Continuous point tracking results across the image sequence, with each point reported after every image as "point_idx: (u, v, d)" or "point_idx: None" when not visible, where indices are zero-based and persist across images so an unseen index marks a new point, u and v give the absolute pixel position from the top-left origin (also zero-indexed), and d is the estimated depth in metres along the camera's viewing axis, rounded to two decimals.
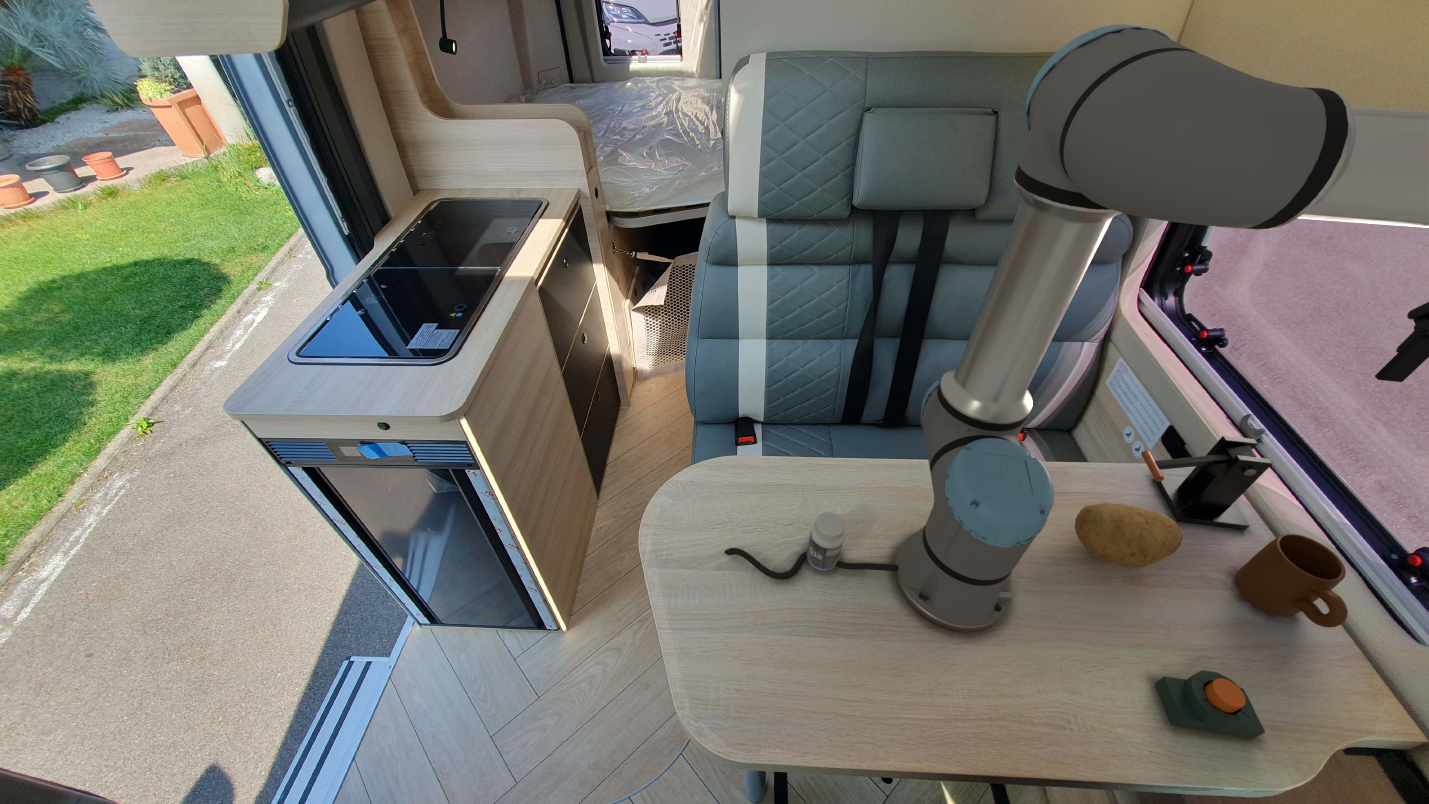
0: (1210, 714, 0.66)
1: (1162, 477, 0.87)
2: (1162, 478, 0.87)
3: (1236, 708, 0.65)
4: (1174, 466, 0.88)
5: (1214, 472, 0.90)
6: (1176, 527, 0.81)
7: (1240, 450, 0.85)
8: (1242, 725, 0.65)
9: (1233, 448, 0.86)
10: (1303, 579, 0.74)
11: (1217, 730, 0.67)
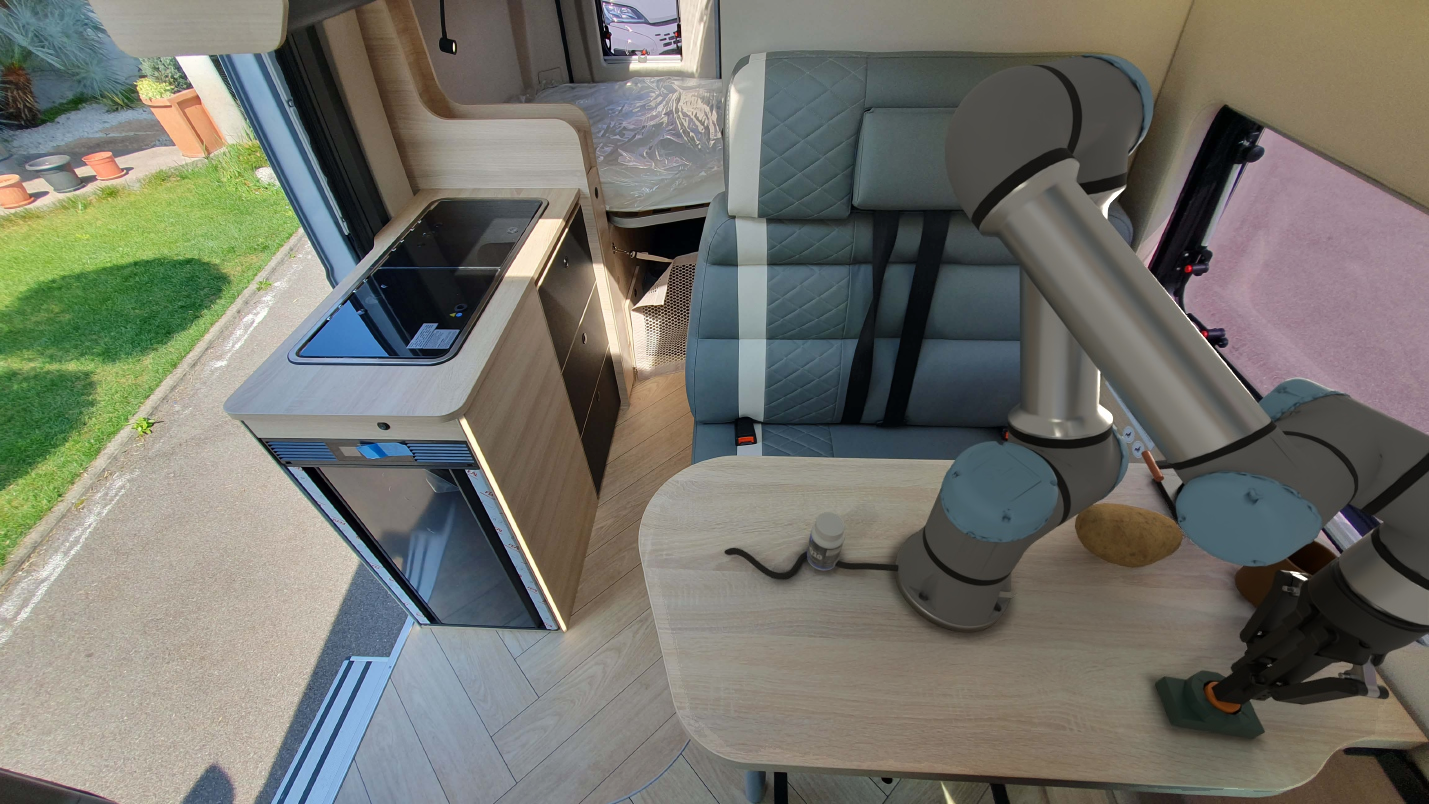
0: (1210, 714, 0.66)
1: (1162, 477, 0.87)
2: (1162, 478, 0.87)
3: (1231, 711, 0.66)
4: None
5: None
6: (1176, 527, 0.81)
7: None
8: (1242, 725, 0.65)
9: None
10: None
11: (1217, 730, 0.67)
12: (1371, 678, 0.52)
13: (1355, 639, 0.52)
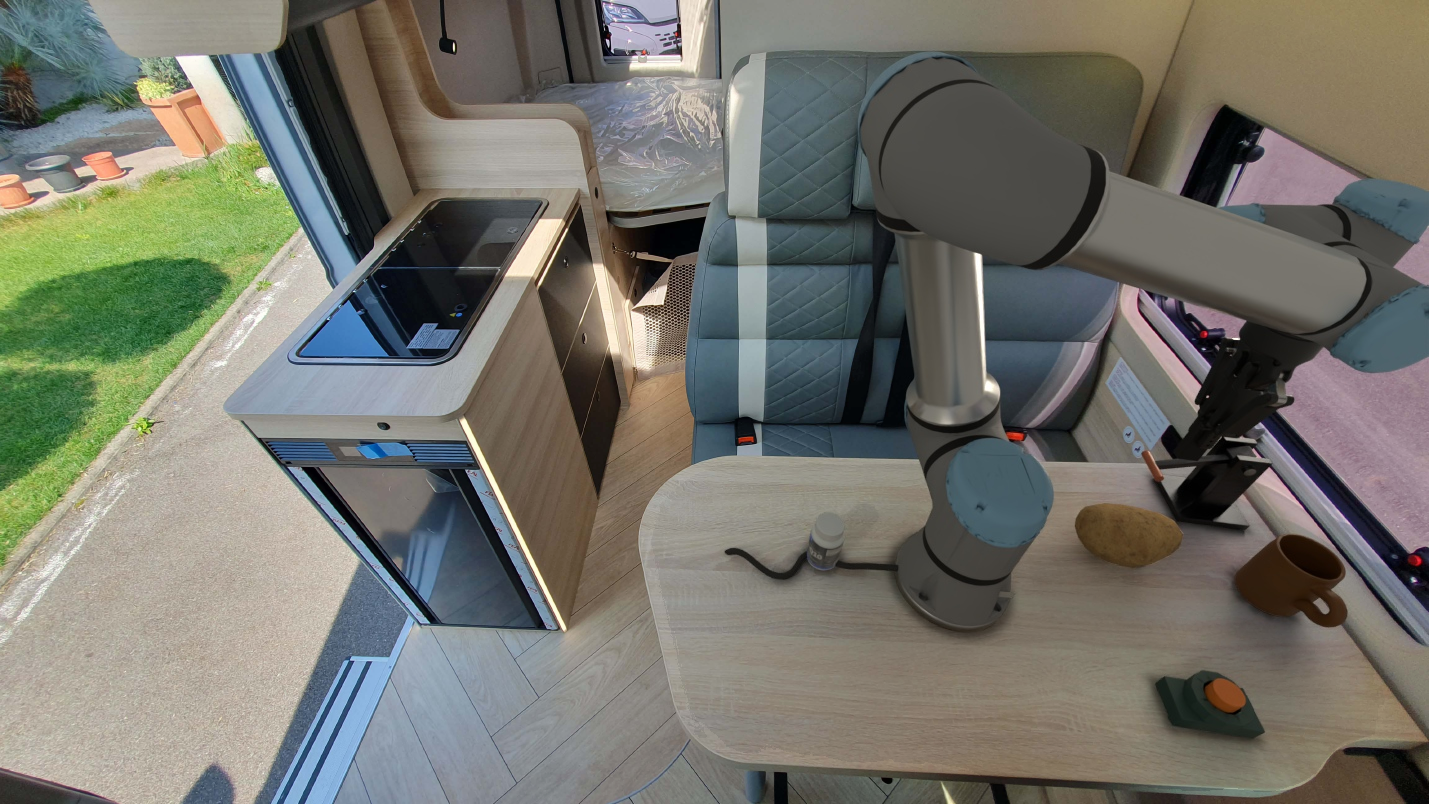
0: (1210, 714, 0.66)
1: (1162, 477, 0.87)
2: (1162, 478, 0.87)
3: (1236, 708, 0.65)
4: (1174, 466, 0.88)
5: (1214, 472, 0.90)
6: (1176, 527, 0.81)
7: (1240, 450, 0.85)
8: (1242, 725, 0.65)
9: (1233, 448, 0.86)
10: (1303, 579, 0.74)
11: (1217, 730, 0.67)
12: (1282, 389, 0.68)
13: (1271, 362, 0.69)
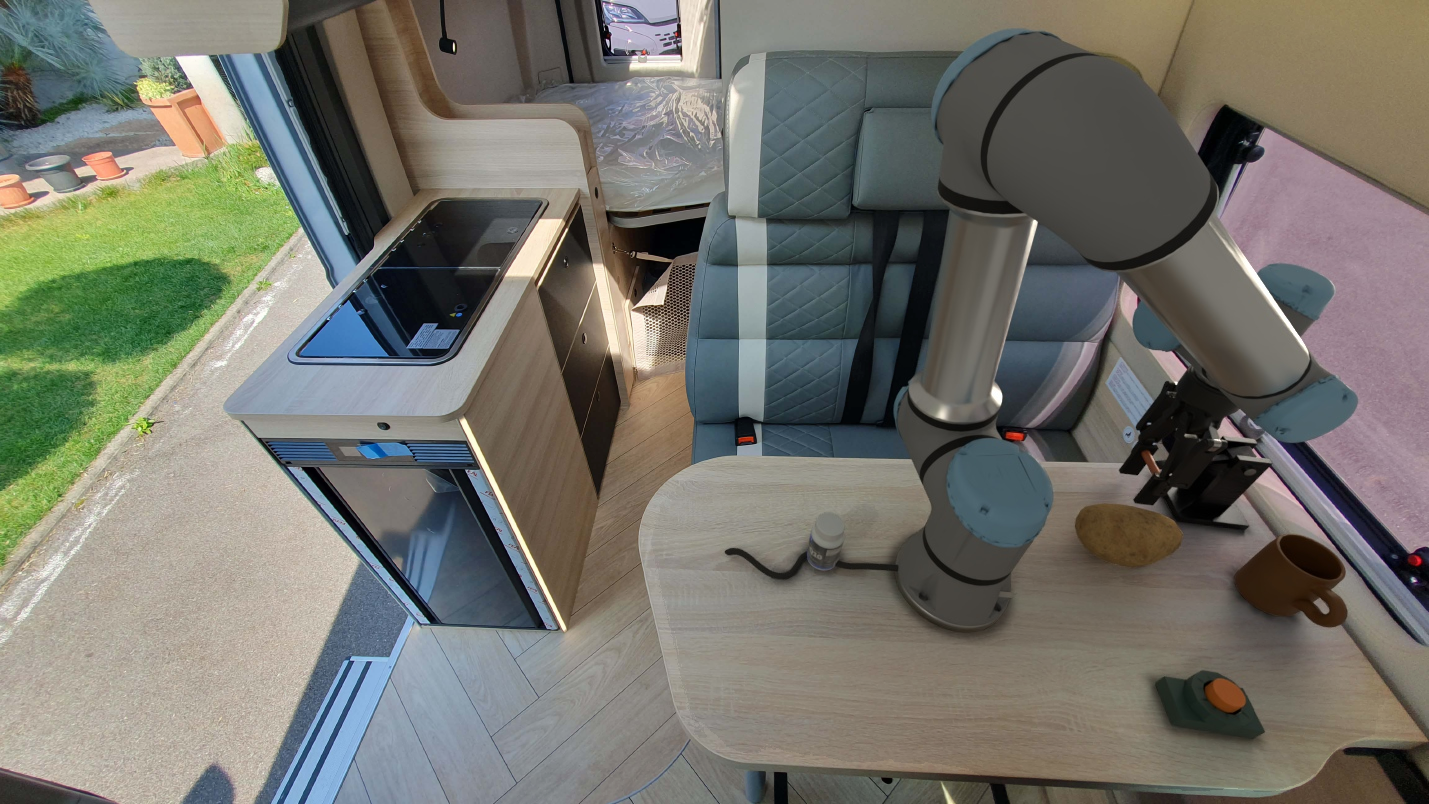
0: (1210, 714, 0.66)
1: None
2: None
3: (1236, 708, 0.65)
4: None
5: (1214, 472, 0.90)
6: (1176, 527, 0.81)
7: (1240, 450, 0.85)
8: (1242, 725, 0.65)
9: (1233, 448, 0.86)
10: (1303, 579, 0.74)
11: (1217, 730, 0.67)
12: (1215, 435, 0.78)
13: (1201, 413, 0.79)
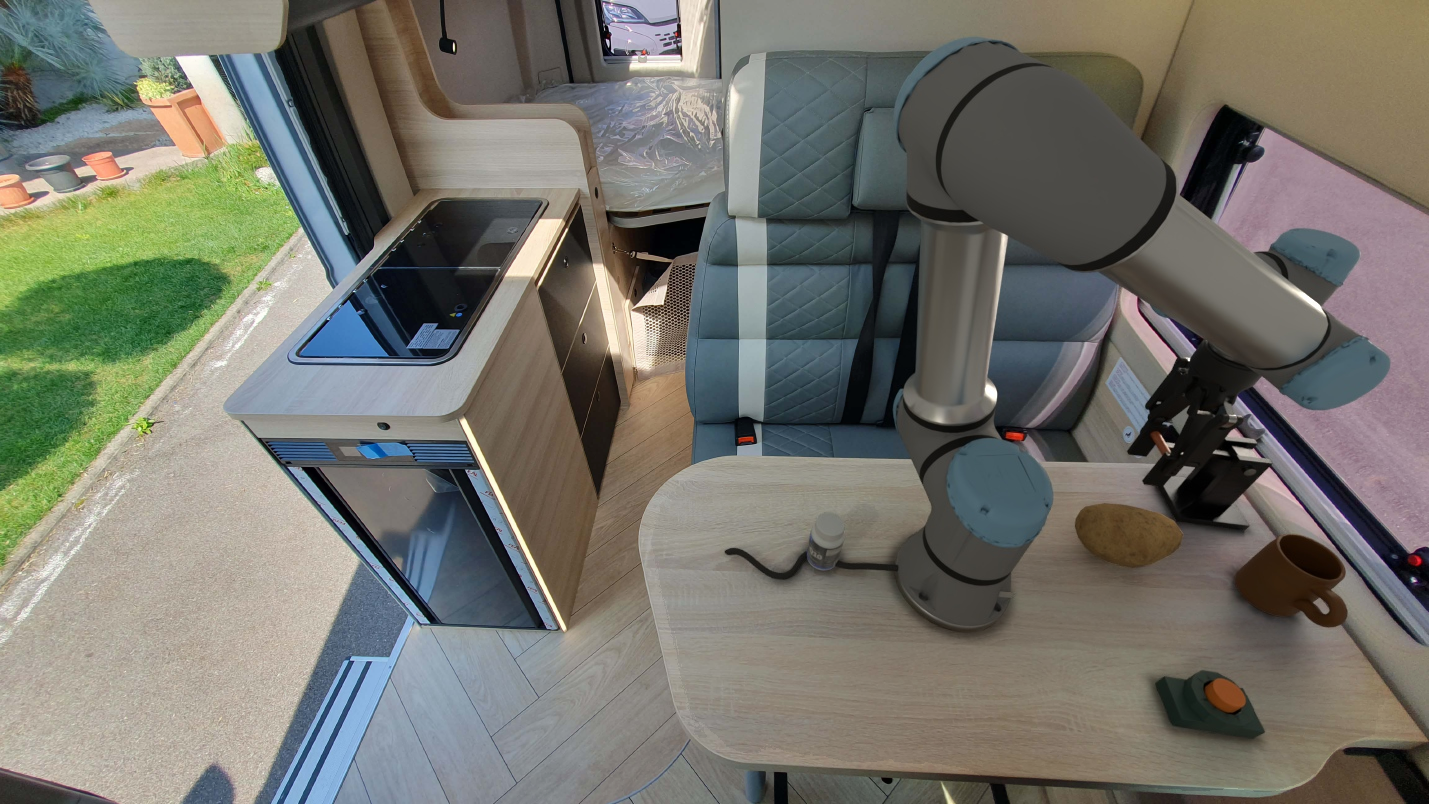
0: (1210, 714, 0.66)
1: None
2: None
3: (1236, 708, 0.65)
4: None
5: (1214, 472, 0.90)
6: (1176, 527, 0.81)
7: (1244, 450, 0.85)
8: (1242, 725, 0.65)
9: (1237, 447, 0.86)
10: (1303, 579, 0.74)
11: (1217, 730, 0.67)
12: (1230, 410, 0.75)
13: (1215, 388, 0.76)
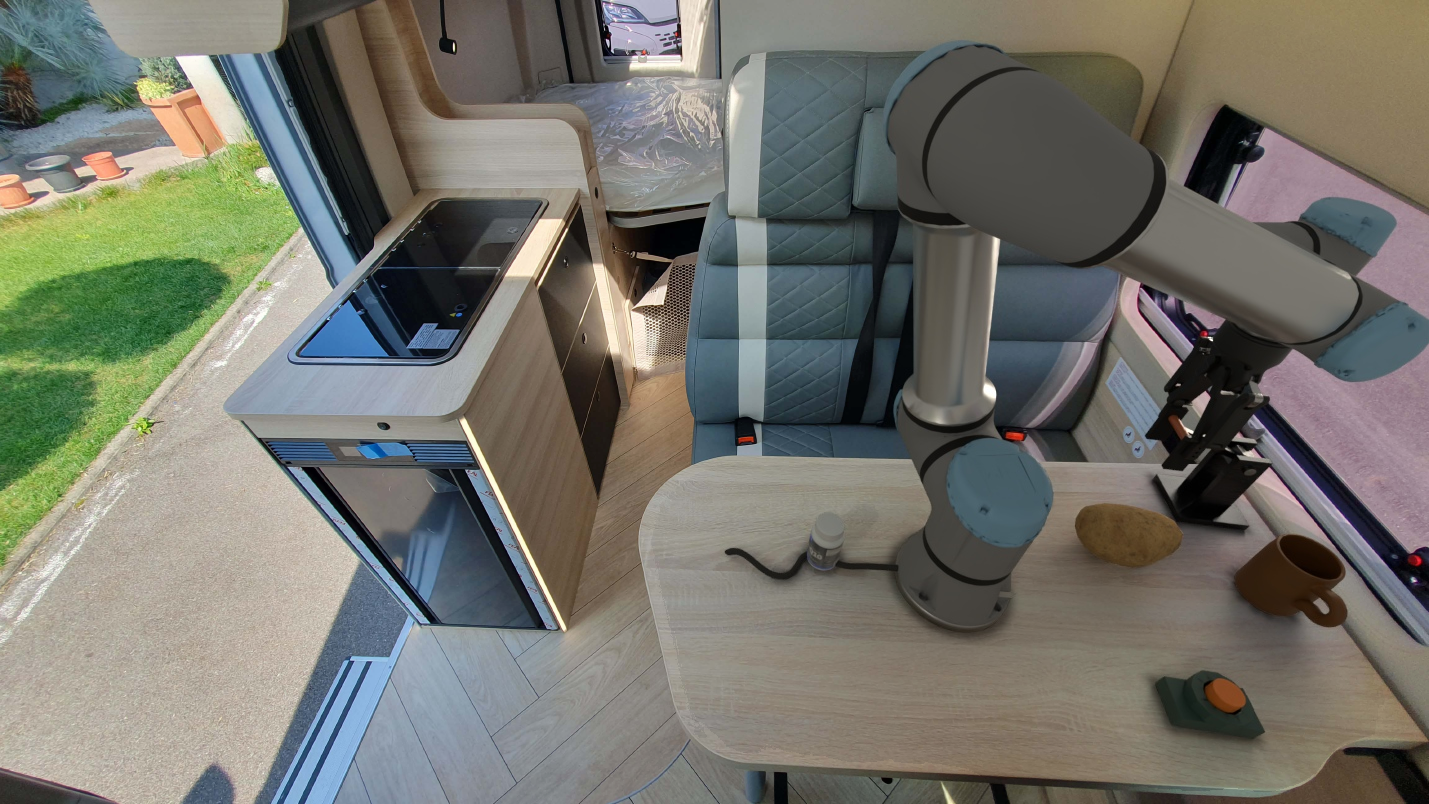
0: (1210, 714, 0.66)
1: None
2: None
3: (1236, 708, 0.65)
4: None
5: (1214, 472, 0.90)
6: (1176, 527, 0.81)
7: (1246, 451, 0.85)
8: (1242, 725, 0.65)
9: (1241, 447, 0.86)
10: (1303, 579, 0.74)
11: (1217, 730, 0.67)
12: (1256, 389, 0.72)
13: (1240, 366, 0.74)
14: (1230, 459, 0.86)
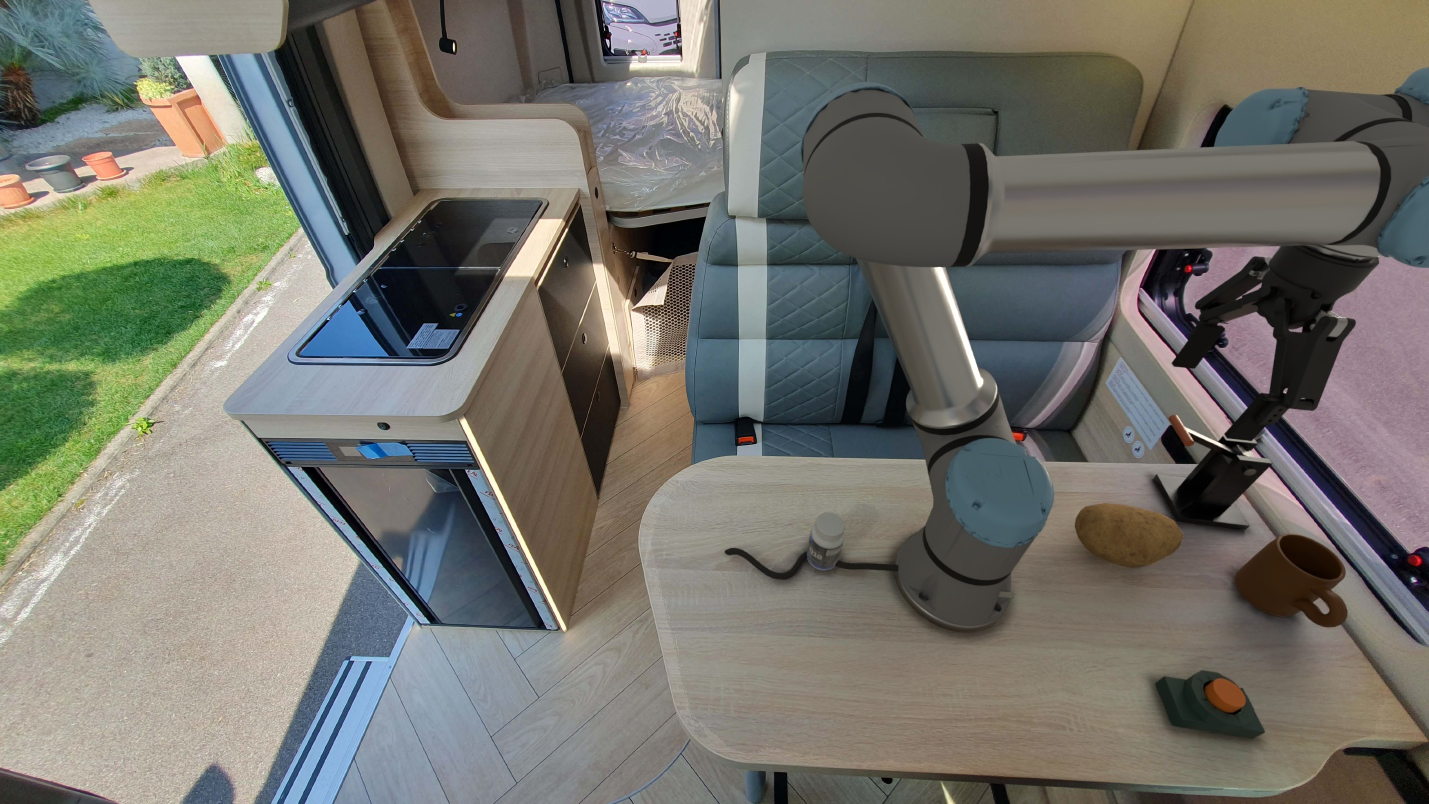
0: (1210, 714, 0.66)
1: (1193, 443, 0.82)
2: (1192, 444, 0.82)
3: (1236, 708, 0.65)
4: (1196, 439, 0.84)
5: (1214, 472, 0.90)
6: (1176, 527, 0.81)
7: (1246, 451, 0.85)
8: (1242, 725, 0.65)
9: (1241, 447, 0.86)
10: (1303, 579, 0.74)
11: (1217, 730, 0.67)
12: (1333, 314, 0.58)
13: (1300, 297, 0.61)
14: (1230, 459, 0.86)
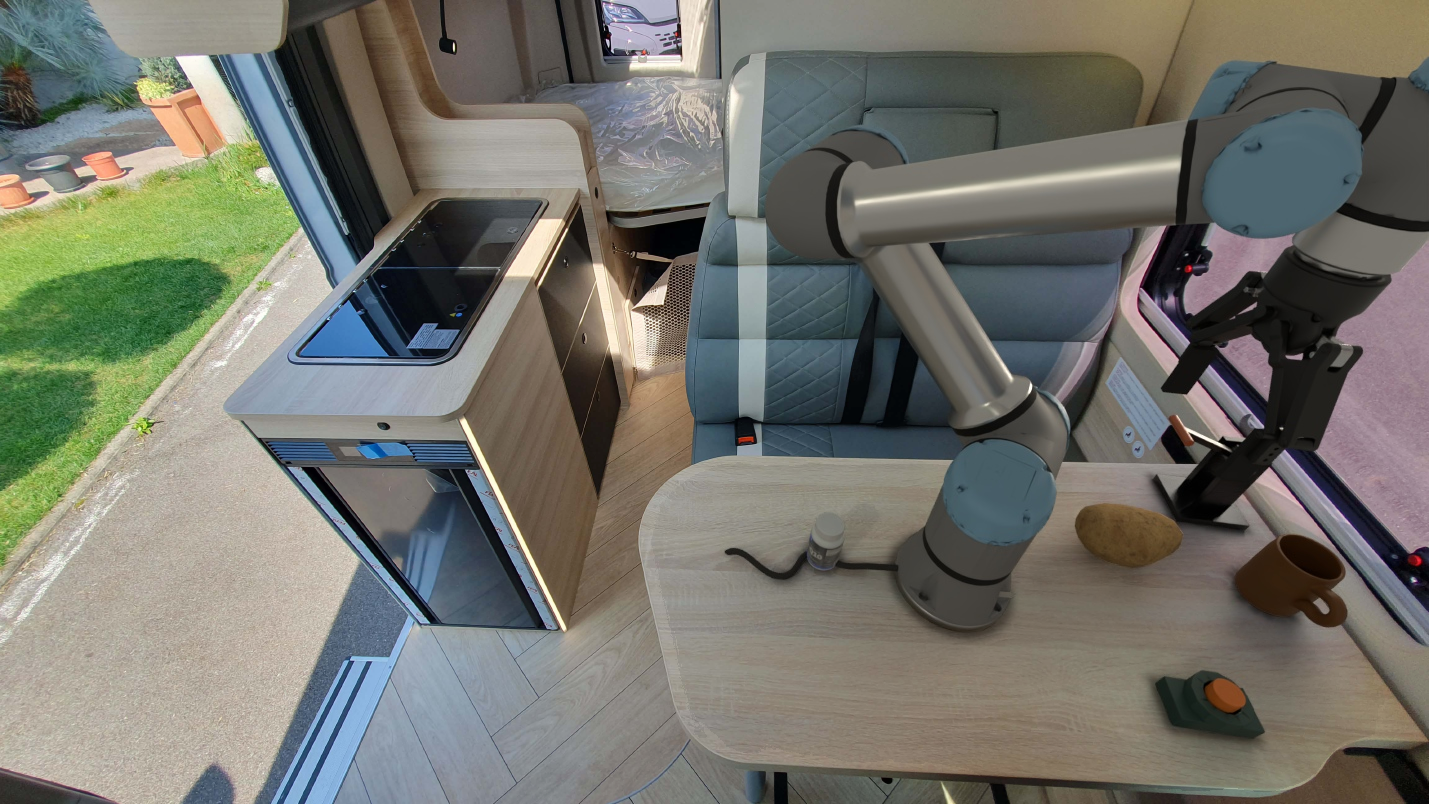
0: (1210, 714, 0.66)
1: (1193, 443, 0.82)
2: (1192, 444, 0.82)
3: (1236, 708, 0.65)
4: (1196, 439, 0.84)
5: (1214, 472, 0.90)
6: (1176, 527, 0.81)
7: None
8: (1242, 725, 0.65)
9: None
10: (1303, 579, 0.74)
11: (1217, 730, 0.67)
12: (1336, 340, 0.50)
13: (1299, 319, 0.52)
14: None
